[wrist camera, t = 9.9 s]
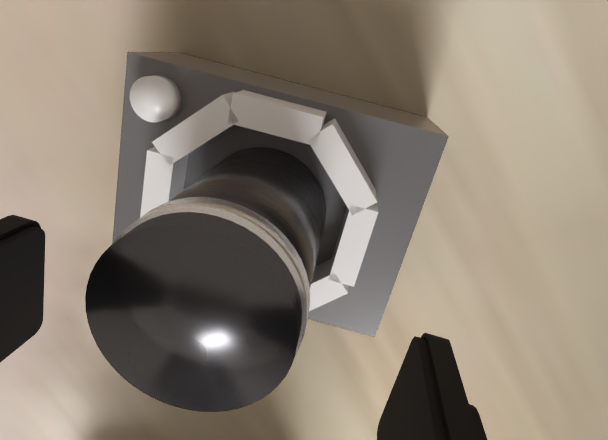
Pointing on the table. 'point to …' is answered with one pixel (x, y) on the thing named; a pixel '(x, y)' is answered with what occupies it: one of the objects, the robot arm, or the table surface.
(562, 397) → the table surface
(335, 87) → the table surface
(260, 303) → the lens
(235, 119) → the grey hollow block
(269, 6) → the table surface
